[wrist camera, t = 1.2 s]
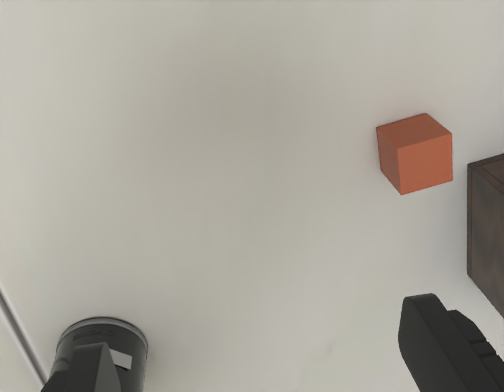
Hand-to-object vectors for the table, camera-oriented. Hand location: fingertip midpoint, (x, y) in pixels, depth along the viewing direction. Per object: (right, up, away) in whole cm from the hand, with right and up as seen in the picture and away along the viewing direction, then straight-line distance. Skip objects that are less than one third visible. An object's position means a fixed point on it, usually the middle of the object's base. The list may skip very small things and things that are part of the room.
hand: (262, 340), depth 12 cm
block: (+14, +9, +30) cm, 34 cm away
